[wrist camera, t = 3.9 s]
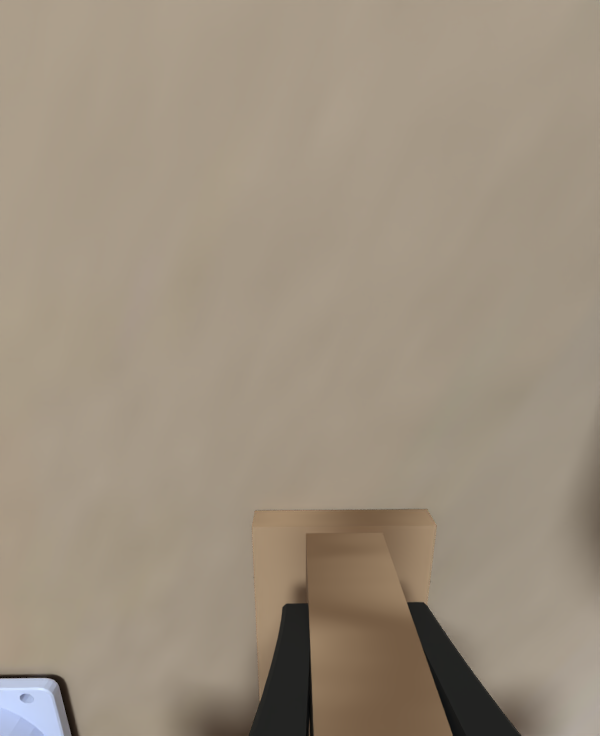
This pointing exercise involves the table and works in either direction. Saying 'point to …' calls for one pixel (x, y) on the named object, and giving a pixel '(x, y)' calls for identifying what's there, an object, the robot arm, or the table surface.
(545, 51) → the table surface
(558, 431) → the table surface
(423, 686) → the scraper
